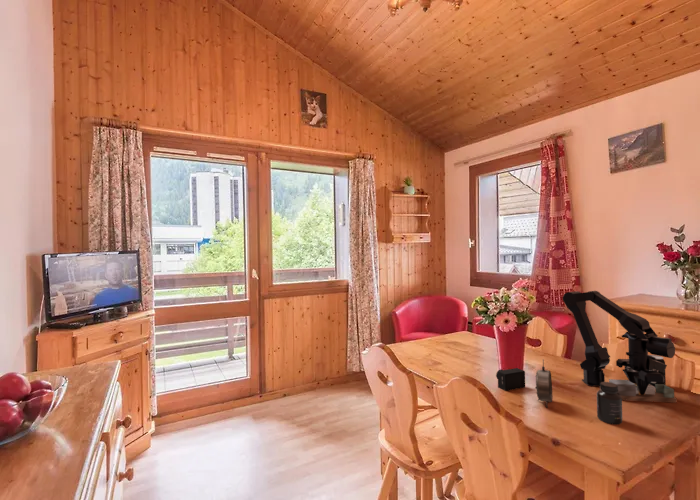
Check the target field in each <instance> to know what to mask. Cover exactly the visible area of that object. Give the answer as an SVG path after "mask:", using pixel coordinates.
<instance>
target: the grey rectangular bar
mask: <svg viewBox="0 0 700 500" xmlns="http://www.w3.org/2000/svg"><path fill="white" fill-rule="evenodd" d="M634 384H635V385H636V394H639V395H641V394H640V392H639V389H638V387H637V384H636V383H634ZM645 394H651V395H655V387H654V386H652V385H650V384H649V385H648V387H647V389H646V391H645ZM645 394H644V395H645Z"/></svg>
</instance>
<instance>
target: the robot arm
mask: <svg viewBox="0 0 700 500" xmlns="http://www.w3.org/2000/svg"><path fill="white" fill-rule="evenodd" d="M562 301H563V303H564V304H565V307H566V308H567V309H568V310H569V311H570V312H571V313H572V315H573V318H574V319H575V320H574V321H575V322H576V323H575V324H576V325H577V327H578V330H579V332H580V336H581V337H582V341H583V343H584V347H585V348H584V357H585V359H584V360H583V361H581V363H580V364H579V365H580V369H581V370H583V373H582V374H583V379H582V378H581V381H582V382H583V383H584V384H586V385H587V386H589V387H592V386H593V387H600V383H601V382H606V379H605V378H606V377H605V376H606V375H605V373H604V370H605V369H606V367H607V366H608V365H609V364H610V361H611V359H610V358H611V355H610V353H609V352H608V351H609V350H608V348H607V347H602V345H601V344H599V341H598V339H597V337H596V334H595V331H594V329H593V327H592V324H591V321H590V319H589V316H588V314H587V311H586V307H587V302H588V301H590V302H592V303H593V304H594V305H596V306H598V307H599V308H601V309H602V310H603V311H604V312H606V313H607V314H608V315H610V316H611V317H613V318H614V319H616V320H617V321H618V323H619V324H620V326H621V327H623V329H625V333H624V334H622V335H621V337H622V338H625V339H627V341H628V342H627V343H628V346H627V347H628V349H627V350H628V351H626V352H625V355H626V356H628V358H618V359H616V361H615V366H617V367H618V368H623V367H624V369H622V372H623V373H624V375H625V377H626V378H627V380H629V381H630V382H632V383H636V384H637V387H638V389H639V392H640V394H641V395H644V394H645V391H646V389H647V387H648V385H649V383H650V382H664V376H663V375H662V374H660V373H658V372H656V371H647V370H653V369H656V370H658V371H661V372H662V373H664V372H665V373H666V369H667V366H668V364H666V363H665V364H663V363H661V362H659V361H656V359H655V357H652V356H650V355H657V356H661V357H663V358H668V359H672V358H674V356H675V354H676V347H675V345H674V343H673V341H672V340H673V339H672V338H670V337H661V336H658V334H657V332H655V330H654V329H653V328H652V327H651V326H650V322H649V320H647V319H646V318H644V317H642V316H640V315H638V314H635V313H632V312H629V311H627V310H626V309H624V308H622V306H620V305H618V304H617V303H615V302H613V301H612V300H611V299H609V298H608V297H606V296H604V294H601V293H600V291H598V290H590V291H586V292H581V291H567V292H565V293H564V294H563V296H562Z"/></svg>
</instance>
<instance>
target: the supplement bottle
mask: <svg viewBox="0 0 700 500" xmlns="http://www.w3.org/2000/svg"><path fill="white" fill-rule="evenodd" d="M596 416H597V418H598V419H599V420H600V421H601V422H603V423H605V424H607V425H608V424H609V425H615V426H617V425H618V426H619V425H621V424H622V423H623V400H622V397H621V395H620V394H619V393H618V385H616V384H614V383H611V382H609V381H605V382H601V383H600V386H599V390H597V392H596Z"/></svg>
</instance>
